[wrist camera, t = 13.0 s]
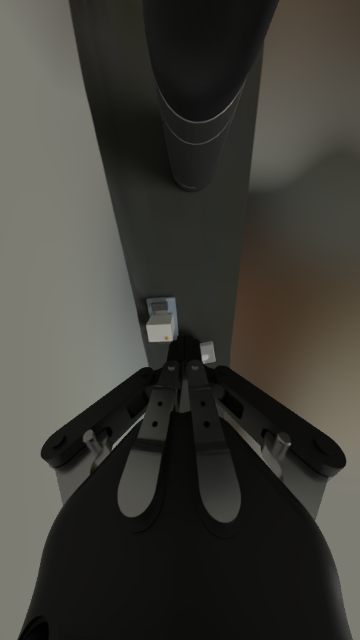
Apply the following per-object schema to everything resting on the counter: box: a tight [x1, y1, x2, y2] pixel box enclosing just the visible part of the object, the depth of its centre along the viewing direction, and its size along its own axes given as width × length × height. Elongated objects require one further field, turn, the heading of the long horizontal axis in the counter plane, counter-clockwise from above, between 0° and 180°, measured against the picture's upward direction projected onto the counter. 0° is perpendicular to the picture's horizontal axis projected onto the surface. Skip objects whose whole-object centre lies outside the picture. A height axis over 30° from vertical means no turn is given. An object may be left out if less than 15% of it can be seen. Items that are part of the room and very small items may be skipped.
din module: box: [146, 313, 175, 342], centre depth 38 cm, size 5×6×7 cm
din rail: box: [151, 299, 172, 344], centre depth 40 cm, size 14×4×3 cm, turn 5°
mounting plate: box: [147, 296, 179, 340], centre depth 42 cm, size 14×8×2 cm, turn 5°
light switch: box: [200, 341, 216, 364], centre depth 44 cm, size 8×6×14 cm
